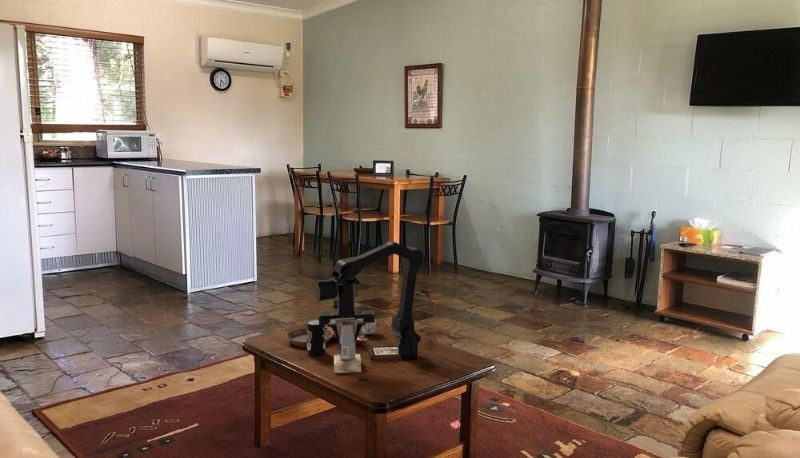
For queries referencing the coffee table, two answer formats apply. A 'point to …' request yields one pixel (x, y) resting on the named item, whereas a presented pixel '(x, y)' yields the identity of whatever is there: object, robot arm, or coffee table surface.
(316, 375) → the coffee table surface
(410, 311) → the robot arm
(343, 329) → the energy drink
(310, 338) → the beverage can
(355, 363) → the plinth
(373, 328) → the game die
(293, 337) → the plant saucer
